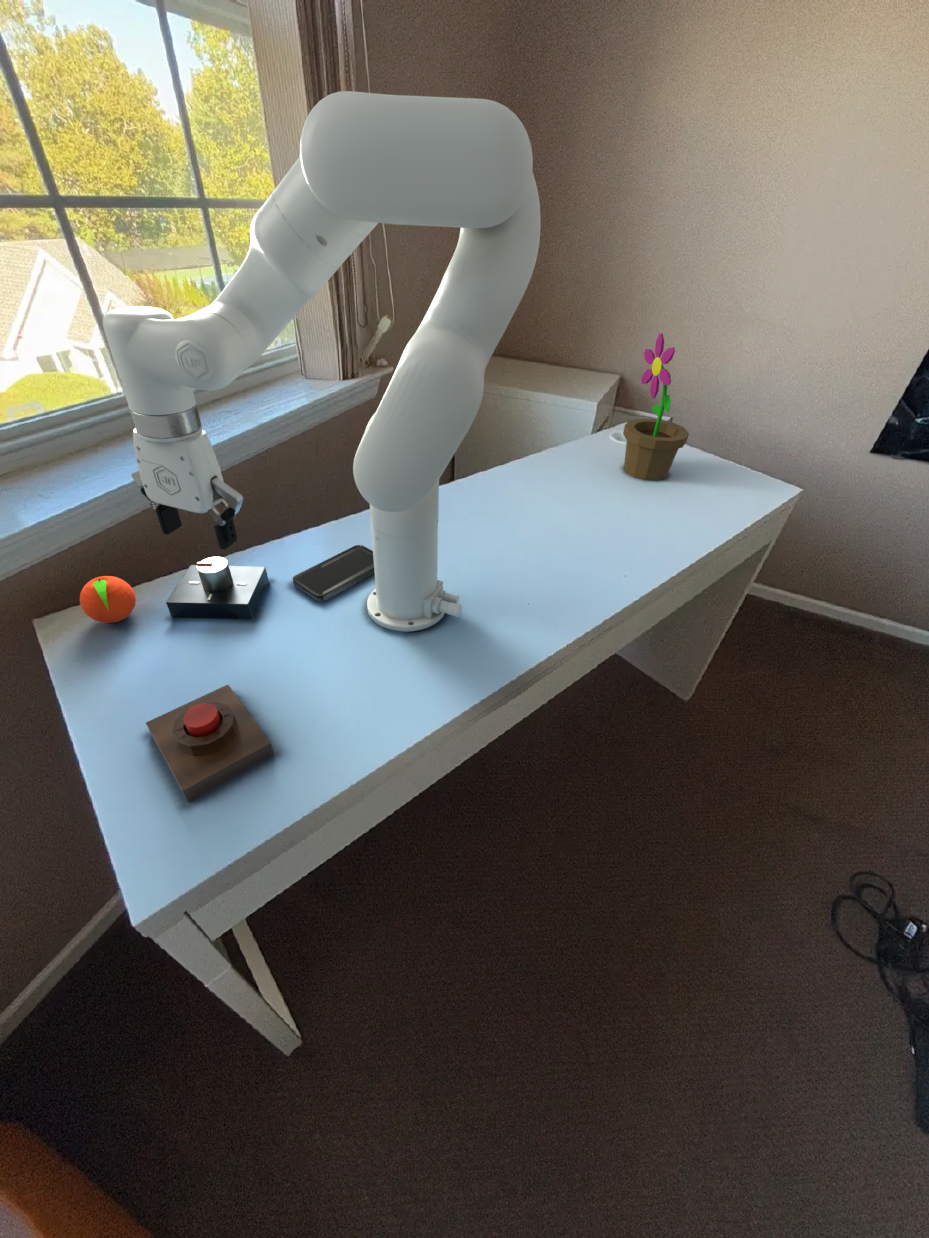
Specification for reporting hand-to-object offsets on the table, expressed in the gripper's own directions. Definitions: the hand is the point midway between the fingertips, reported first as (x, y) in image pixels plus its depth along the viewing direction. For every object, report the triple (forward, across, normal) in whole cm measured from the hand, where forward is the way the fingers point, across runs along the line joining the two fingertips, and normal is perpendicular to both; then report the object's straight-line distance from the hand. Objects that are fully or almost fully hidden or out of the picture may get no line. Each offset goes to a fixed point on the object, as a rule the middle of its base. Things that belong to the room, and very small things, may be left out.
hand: (200, 537), depth 80 cm
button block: (+11, +18, -24) cm, 32 cm away
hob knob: (+8, +1, 0) cm, 8 cm away
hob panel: (+11, +1, 0) cm, 11 cm away
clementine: (+12, -10, -10) cm, 18 cm away
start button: (+8, +18, -24) cm, 31 cm away
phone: (+11, +15, +13) cm, 23 cm away
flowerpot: (+10, +61, +79) cm, 100 cm away
